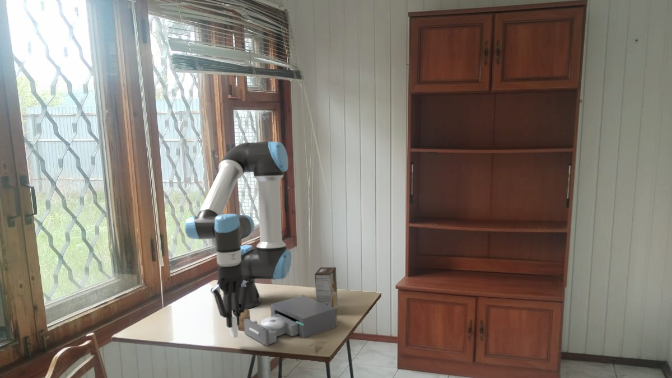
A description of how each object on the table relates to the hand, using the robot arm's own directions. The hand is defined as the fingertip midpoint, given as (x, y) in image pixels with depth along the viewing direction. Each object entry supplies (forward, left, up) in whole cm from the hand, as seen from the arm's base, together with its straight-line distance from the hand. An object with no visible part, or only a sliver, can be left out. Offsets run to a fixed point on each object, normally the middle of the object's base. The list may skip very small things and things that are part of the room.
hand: (233, 336), depth 157 cm
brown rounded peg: (-12, +10, -4) cm, 16 cm away
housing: (0, +27, -4) cm, 28 cm away
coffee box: (-4, +41, -4) cm, 42 cm away
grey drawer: (0, +14, -4) cm, 15 cm away
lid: (0, +15, -1) cm, 15 cm away
